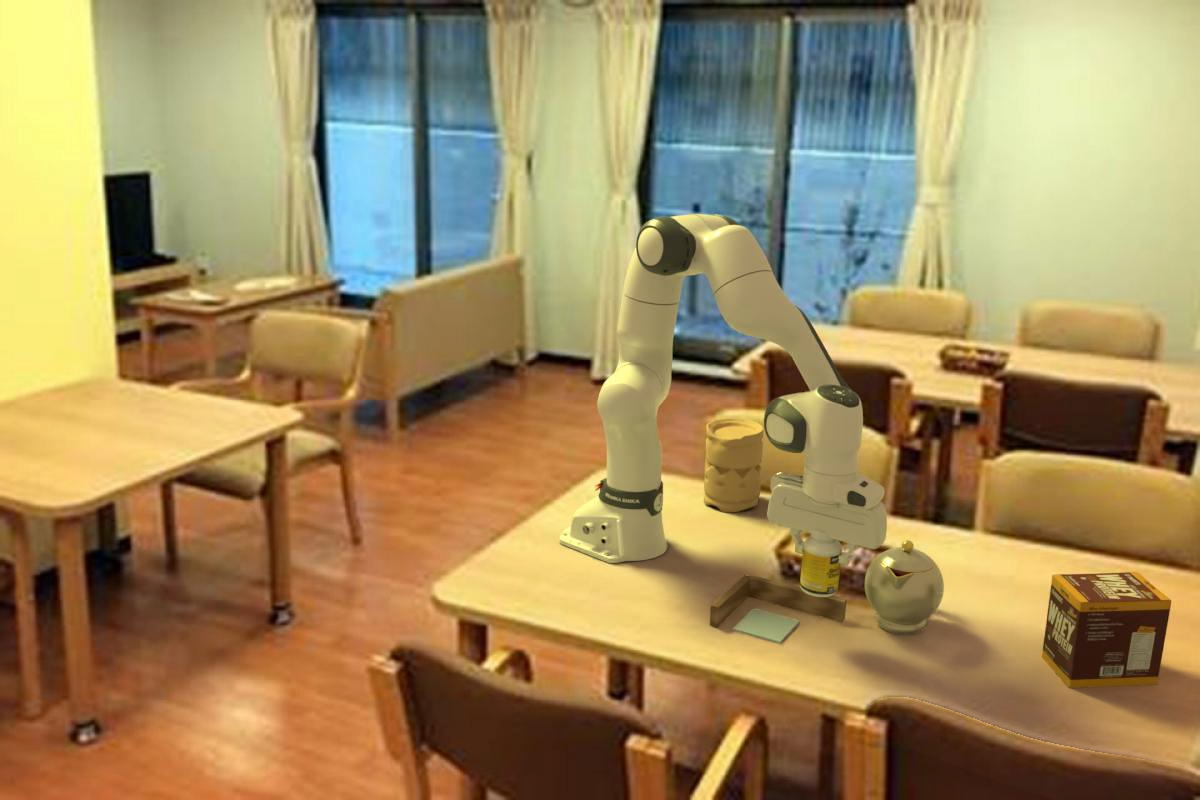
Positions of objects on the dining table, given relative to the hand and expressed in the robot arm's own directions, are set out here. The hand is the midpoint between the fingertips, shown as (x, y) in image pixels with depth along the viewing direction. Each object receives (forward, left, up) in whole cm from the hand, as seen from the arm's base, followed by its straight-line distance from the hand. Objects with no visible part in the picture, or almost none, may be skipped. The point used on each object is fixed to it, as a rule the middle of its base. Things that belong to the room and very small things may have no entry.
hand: (821, 558), depth 201 cm
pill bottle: (0, 0, -6) cm, 6 cm away
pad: (-9, 0, -16) cm, 18 cm away
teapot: (+11, +15, -16) cm, 25 cm away
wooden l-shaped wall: (-8, +3, -16) cm, 18 cm away
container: (-39, +50, -16) cm, 66 cm away
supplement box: (+44, +16, -16) cm, 49 cm away
